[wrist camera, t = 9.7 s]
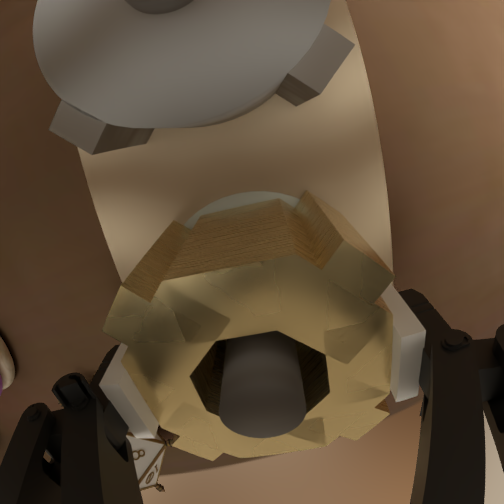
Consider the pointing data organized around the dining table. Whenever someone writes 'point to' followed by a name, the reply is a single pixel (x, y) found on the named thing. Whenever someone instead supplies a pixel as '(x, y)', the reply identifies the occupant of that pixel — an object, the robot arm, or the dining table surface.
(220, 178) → the gear board
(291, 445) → the brass gear
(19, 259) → the dining table surface
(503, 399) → the robot arm
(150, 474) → the game die
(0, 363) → the stacking toy
